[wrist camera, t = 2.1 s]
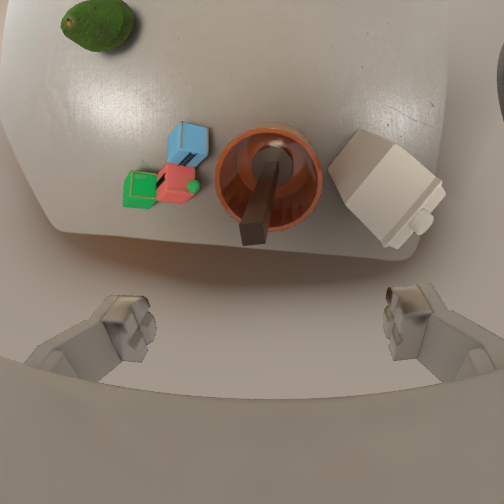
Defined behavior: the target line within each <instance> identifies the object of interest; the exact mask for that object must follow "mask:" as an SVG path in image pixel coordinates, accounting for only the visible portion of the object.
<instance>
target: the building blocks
mask: <svg viewBox="0 0 504 504" xmlns="http://www.w3.org/2000/svg"><path fill="white" fill-rule="evenodd" d="M208 128H209V127H207V128H206V127H202V126H197V125H193V124H189V123H184V122H183V121H182V122H180V123H179V124H178V125H177V126H176V127H175V129H174V130H173V131H172V133H171V134H170V135H169V138H168V150H167V162H168V163H166V165H165V166H164V167H163V168H162V169H161V171H160V172H159V173H157V174H156V173H150V172H142V171H136V170H135V171H133V170H132V171H130V173H129V174H128V176H127V178H126V180H125V182H124V194H123V206H124V207H131V208H142V209H149V208H150V207H151V206H152V205H153V204H154V203H155V202H156V201H162V202H171V203H180V204H183V203H185V202H186V201H187V200H189V199H190V198H191V197H193V196H194V195H195V193H196V192H197V191H199V190H200V182H199V181H197V180H195V167H196V166H197V165H198V164H199V163H200V162H201V161H202V160H203V159H204V158H206V157H207V156H208V153H209V130H208Z"/></svg>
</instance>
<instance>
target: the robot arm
mask: <svg viewBox="0 0 504 504" xmlns="http://www.w3.org/2000/svg"><path fill="white" fill-rule="evenodd" d="M386 300H387V303H388V306H387V307H386V308H385V309H384V316H383V327H384V332H385V336H386V338H388V339H389V340H390V344H389V349H390V352H391V356H392V359H393V361H398V360H407V359H417V358H418V359H417V360H418V361H419V362H420V363H422V364H423V365H424V366H425V367H426V368H427V369H428V370H429V371H430V372H431V373H432V374H434V375H435V376H436V377H437V378H438V379H439V380H440V381H441V382H442V383H440V384H435V385H429V386H424V387H418V388H412V389H405V390H399V391H392V392H384V393H377V394H367V395H357V396H346V397H330V398H310V399H236V398H216V397H202V396H190V395H179V394H169V393H161V392H154V391H146V390H139V389H132V388H126V387H120V386H114V385H109V384H104V383H99V382H98V381H99V380H101V379H102V378H103V377H104V376H105V375H107V374H108V373H109V372H110V371H111V370H113V369H114V368H115V367H116V366H118V365H119V364H120V363H121V362H122V361H129V362H142V361H143V359H144V357H145V355H146V353H147V352H148V347H147V345H148V344H150V343H151V342H152V341H153V340H154V338H155V336H156V329H157V327H156V321H155V318H154V316H153V315H152V314H151V313H150V312H149V308H150V304H149V302H148V299H147V298H146V297H144V296H123V295H122V296H120V295H110V296H107V298H106V299H105V300H104V301H103V302H102V304H101V305H100V306H99V307H98V309H97V310H96V311H95V312H94V313H93V315H92V316H91V317H90V319H89V320H84V321H82V322H80V323H79V324H77V325H75V326H73V327H71V328H69V329H68V330H66V331H64V332H62V333H60V334H58V335H56V336H55V337H53V338H51V339H49V340H47V341H45V342H44V343H42V344H40V345H38V346H37V347H36V348H35V350H34V351H33V352H32V354H31V355H30V356H29V357H28V359H27V360H26V361H25V362H24V364H23V363H20V362H16V361H13V360H10V359H7V358H4V357H1V356H0V504H504V339H502V338H501V337H499V336H497V335H496V334H494V333H492V332H490V331H488V330H487V329H485V328H483V327H482V326H480V325H478V324H476V323H474V322H473V321H471V320H469V319H467V318H465V317H464V316H462V315H460V314H458V313H456V312H455V311H449V310H448V309H447V307H446V305H445V304H444V302H443V301H442V299H441V297H440V296H439V294H438V293H437V291H436V289H435V288H434V286H433V285H432V284H431V283H423V284H416V285H408V286H399V287H389V288H388V290H387V293H386Z"/></svg>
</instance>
